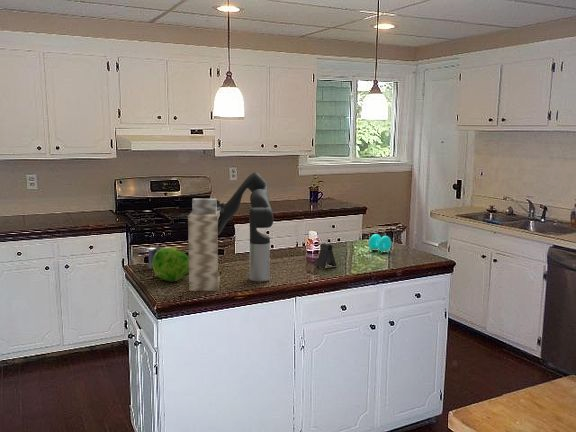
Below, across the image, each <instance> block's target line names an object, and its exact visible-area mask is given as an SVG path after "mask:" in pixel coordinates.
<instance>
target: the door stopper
mask: <svg viewBox="0 0 576 432" xmlns="http://www.w3.org/2000/svg"><path fill="white" fill-rule="evenodd" d="M327 264H329V265H332V266H337V263H336V259H335V256H334V252H333V245H332V244H329V243H326V242H322V243H321V244H320V251H319V254H318V257H317V260H316V264H315V267H316V266H318V267H321V268H325V266H326V265H327ZM318 267H317V268H318Z"/></svg>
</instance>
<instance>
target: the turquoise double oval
mask: <svg viewBox="0 0 576 432" xmlns="http://www.w3.org/2000/svg"><path fill="white" fill-rule="evenodd" d="M368 247H369V249H370V250H371V249H376V248H379V249H378V251H379V252H380V251H385V250H389V249H390V250H391V248H392V239H391V237H390V236H388V235H383V236H382V237H381V235H380V234H377V233H374V234H372V235H371V236H370V238H369V240H368ZM390 250H389V251H390Z"/></svg>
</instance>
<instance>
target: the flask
mask: <svg viewBox="0 0 576 432" xmlns="http://www.w3.org/2000/svg"><path fill="white" fill-rule="evenodd" d="M163 248H167V247H165V246H159V244H156V245H155V248H152V249H148V269H149V270H153V264H152V262H153V257H154V255H155V253H156V252H157V251H158V250H160V249H163Z"/></svg>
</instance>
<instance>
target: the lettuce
mask: <svg viewBox="0 0 576 432" xmlns="http://www.w3.org/2000/svg"><path fill="white" fill-rule="evenodd" d="M152 264H153V269H152V270H153V272H154V274H155V276H156V277H158V278H159V279H161V280H163V281H166V282H178V281H179V280H180V279H182V278H183V277H184V276H186V275H187V274H189V255H188V254H186V253H185V252H184V251H182V250H180V249H178V248H176V247H166V248H163V249H160V250H158V251H157V252H156V253H155V255H154V257H153V262H152Z"/></svg>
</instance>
